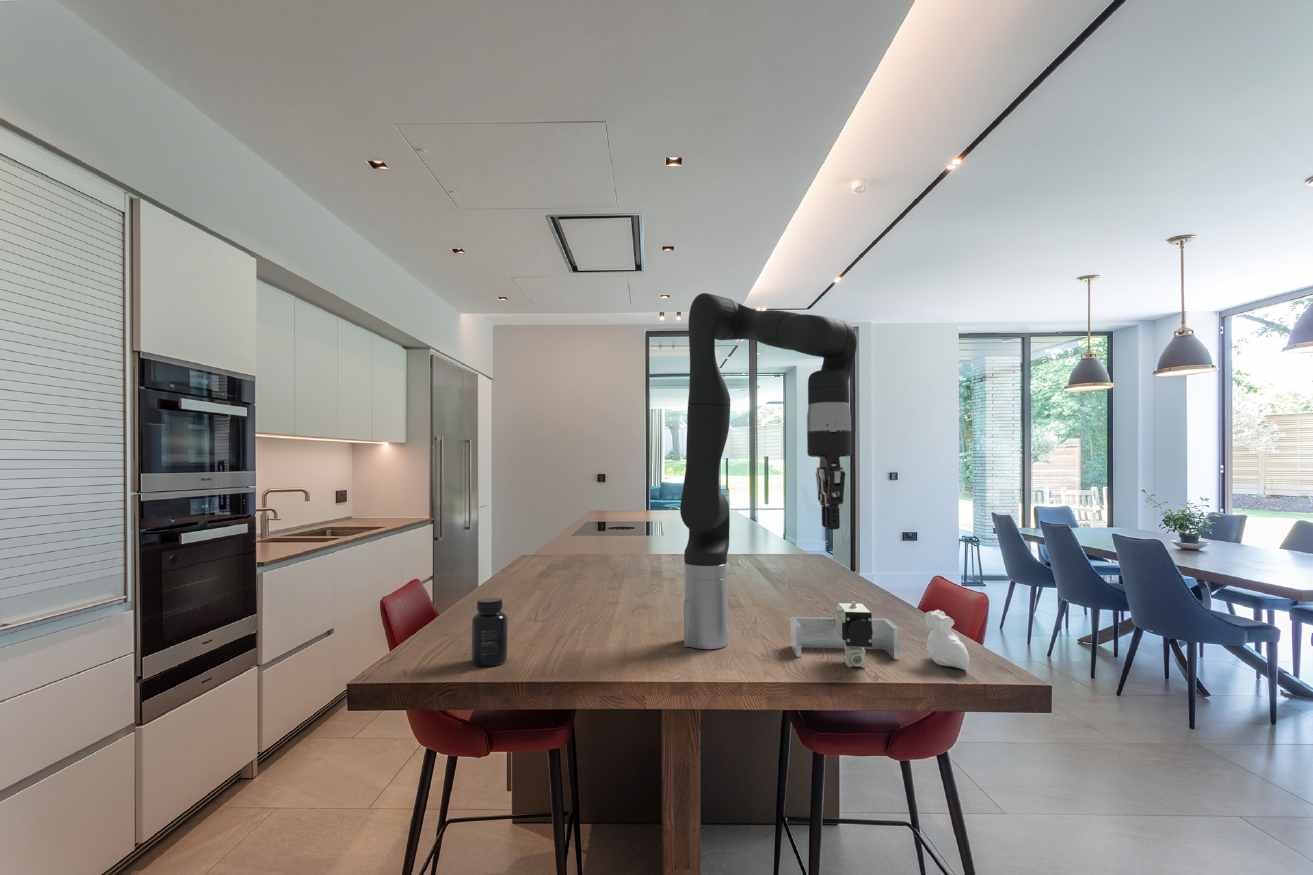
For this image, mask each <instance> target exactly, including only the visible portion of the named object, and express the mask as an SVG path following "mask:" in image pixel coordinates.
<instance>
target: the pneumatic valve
mask: <svg viewBox="0 0 1313 875" xmlns="http://www.w3.org/2000/svg"><path fill="white" fill-rule="evenodd" d="M836 604H837V605H836V607H835V611H834V612H833V618H834V628H835V629H836V631H837V632H838V635H839V636H840V638H841V639H842V640H843V642H844V643H845V645H844V648H843V649H844V658H843V661H844V663H845V665H846V666H847V668H852V667H854V668H855V667H856V668H859V667H860V668H862V669H865V668H866V667H867V663H866V662H865V661H866V657H865V655H866V649H864V648H863V647H872V634H873V630H872V619H873V617H872V615H873V614H872V612H871V611H870V610H869V609H868V608H867V607H866V606H865V605H864V604H863V603H862V602H857V601H854V600H851V602H847V601H845V602H844V601H843V602H842V601H840V602H836Z"/></svg>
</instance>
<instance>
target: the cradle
mask: <svg viewBox="0 0 1313 875" xmlns="http://www.w3.org/2000/svg"><path fill="white" fill-rule="evenodd" d="M872 630H873V634H872V647H863V648H864V650H885V652H887V653H888V655H889V656H890V657H891V658H892V659H893V660H897V661H898V660H900V659H901V658H900V629H899V627H898V626H896V625H895V624H894V623H893V622H892V621H891V620H889V619H888V618H872ZM844 645H845V643H844V642H843V640H842V639H841V638H840V636H839V635H838V632H837V631H836V629H835V628H834V617H817V616H815V617H807V616H806V617H803V616H790V647H791V649H792V650H793V653H794V655H795V657H796V658H802V648H809V649H811V648H813V649H816V648H818V649H819V648H820V649H844Z"/></svg>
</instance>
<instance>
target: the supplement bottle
mask: <svg viewBox="0 0 1313 875" xmlns="http://www.w3.org/2000/svg"><path fill="white" fill-rule="evenodd" d="M503 607H504V606H503V599H502V598H501V597H485V598H484V597H483V598H480V599H478V600H477V601H476V611H477V613H475V614H474V615H473V617H472V618H471V632H470V633H471V636H470V637H471V641H470V642H471V650H470V652H471V654H470V655H471V657H470V658H471V660H470V662H471V663H472V665H473V666H476V667H482V668H486V667H487V668H489V667H495V666H499V665H503V664H504V663H506V662H507V660H508V642H509V640H508V637H509V636H508V631H509V630H508V626H509V624H508V616H507V614H506V613H505V612H503V609H504V608H503Z"/></svg>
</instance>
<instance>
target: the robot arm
mask: <svg viewBox="0 0 1313 875" xmlns="http://www.w3.org/2000/svg"><path fill="white" fill-rule="evenodd" d="M734 340H750V341H755V342H758V343H760V344H763V345H766V346H769V347H772V348H773V347H774V348H777V349H778V348H779V349H782V350H789V351H794V352H798V353H801V354H805V355H809V356H812V357H813V356H814V357H817V358H823V362H822V365H821V369H820V370H816V371H813V372H812V373H811V374H810V375H809V376H808V380H807V407H808V408H807V413H806V439H807V442H806V445H807V448H806V450H807V451H806V452H807V454H806V455H807V456H809V457H811V458H812V457H813V458H819V465H818V466H819V467H816V472H815V477H816V485H817V486H816V488H817V499H818V502H819V505H820V506H821V526H822V527H824V528H826V529H828V530H839V529H840V526H841V525H840V522H841V520H840V519H841V518H840V508H841V506H842V505H843V503H844V493H845V481H846V472H845V470H844V467H843V466H841V459H840V458H841V457H844V458H846V457H851V455H852V453H853V452H852V451H853V450H852V448H853V446H852V444H853V443H852V415H851V414H852V413H851V409H850V388H849V387H850V384H849V380H850V376H851V373H852V369H853V366H854V361H855V356H856V352H857V351H856V350H857V344H858V340H857V334H856V332H855V329H854V327H853V325H852V324H850V323H849V322H848V321H846V320H842V319H838V318H837V319H836V318H832V317H829V316H824V315H818V314H801V313H797V312H792V311H784V310H776V309H774V310H773V309H767V310H758V309H753V308H751V307H748V306H746V305H743V304H741V303H739V302H737V301H734V300H733V299H732V298H727V297H723V296H720V295H716V294H711V293H708V292H707V293H706V292H703V293H699V294H698V295H696V296H695V298H694V299H693V301H692V303H691V305H690V308H689V313H688V344H689V345H688V346H689V349H688V350H689V384H688V386H689V389H688V400H687V401H688V402H687V414H686V416H687V417H686V430H687V431H686V443H685V444H686V448H685V449H686V450H685V452H686V454H685V455H686V456H685V458H686V459H685V461H686V463H685V473H684V480H683V485H682V486H683V487H682V493H681V498H680V504H679V505H680V506H679V507H680V508H679V511H680V512H679V513H680V517H681V519H682V522H683V524H684V525H685V526H686V528H687V529H688V540H687V545H686V547H685V549H684V554H683V555H684V558H683V562H684V564H683V565H684V566H683V567H684V569H683V570H684V574H683V576H684V582H683V583H684V584H683V586H684V587H683V588H684V601H683V647H689V648H692V649H693V648H694V649H700V650H716V649H722V648H724V647H726V646H727V645H728V552H729V549H730V548H729V547H730V524H731V523H730V521H731V520H730V518H731V517H730V514H731V512H730V506H729V501H728V499H727V498H726V496H725V495H724V494H723V493H722V492H720V480H719V479H720V467H721V466H720V465H721V461H722V458H723V457H722V456H723V454H724V451H725V450H724V449H725V447H726V444H727V439H728V435H729V430H730V418H731V397H730V393H729V390H728V387H727V385H726V384H727V383H726V381H725V380H724V377H723V376H722V373H721V371H720V368H719V366H718V363H717V358H716V346H715V345H716V341H734Z"/></svg>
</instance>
